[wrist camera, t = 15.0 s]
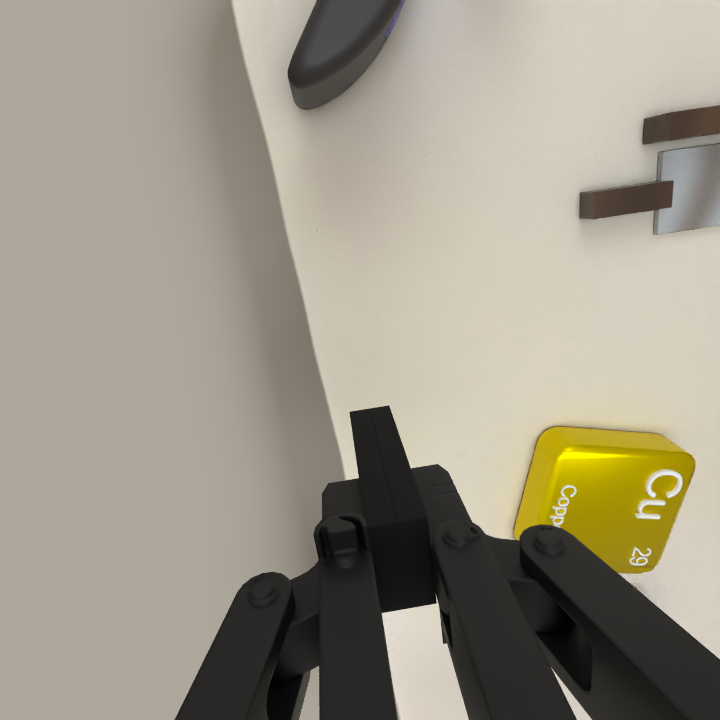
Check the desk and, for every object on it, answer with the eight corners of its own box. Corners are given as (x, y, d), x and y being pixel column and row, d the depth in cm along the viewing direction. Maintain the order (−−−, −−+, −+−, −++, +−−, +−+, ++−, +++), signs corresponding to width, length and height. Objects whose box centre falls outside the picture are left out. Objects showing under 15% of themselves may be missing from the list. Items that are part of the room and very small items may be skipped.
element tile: (540, 423, 48) (562, 446, 44) (672, 433, 50) (707, 456, 46) (508, 542, 53) (526, 574, 49) (630, 548, 55) (658, 579, 50)
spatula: (579, 245, 43) (592, 247, 41) (580, 163, 41) (594, 161, 38) (736, 221, 43) (757, 222, 41) (746, 139, 41) (769, 136, 39)
